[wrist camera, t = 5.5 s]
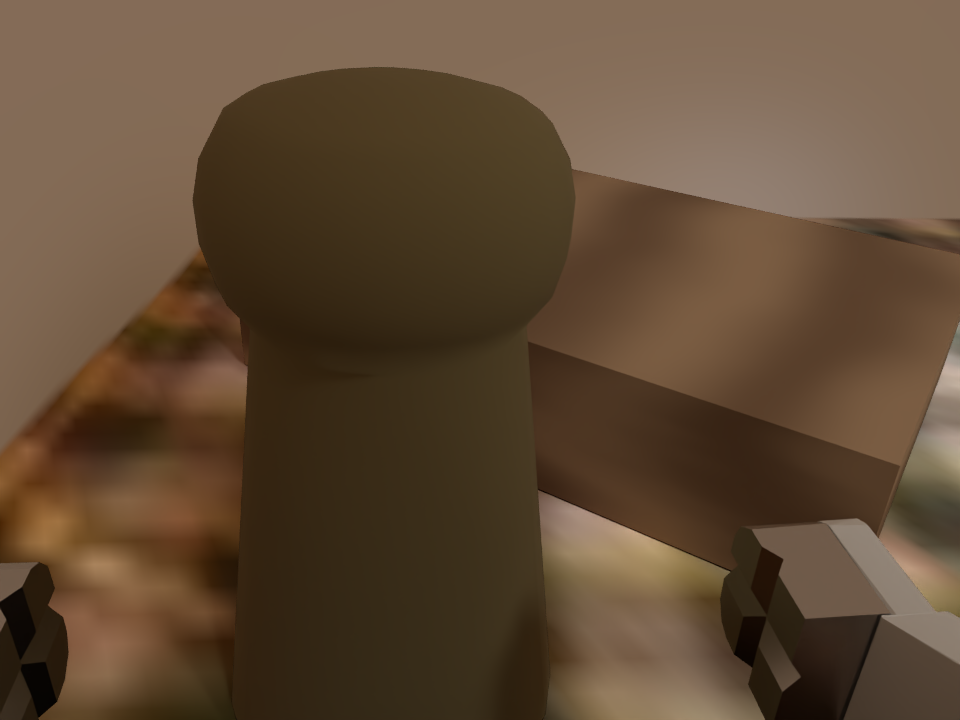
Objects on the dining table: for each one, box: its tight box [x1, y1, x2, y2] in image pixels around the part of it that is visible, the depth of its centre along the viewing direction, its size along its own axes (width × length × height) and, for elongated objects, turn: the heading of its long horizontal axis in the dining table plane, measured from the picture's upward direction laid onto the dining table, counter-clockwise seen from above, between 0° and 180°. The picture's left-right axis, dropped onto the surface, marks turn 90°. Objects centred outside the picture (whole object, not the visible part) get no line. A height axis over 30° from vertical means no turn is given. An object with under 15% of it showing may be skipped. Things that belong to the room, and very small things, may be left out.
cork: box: [193, 67, 576, 720], centre depth 14 cm, size 6×6×11 cm
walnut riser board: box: [240, 169, 960, 571], centre depth 26 cm, size 18×13×4 cm
